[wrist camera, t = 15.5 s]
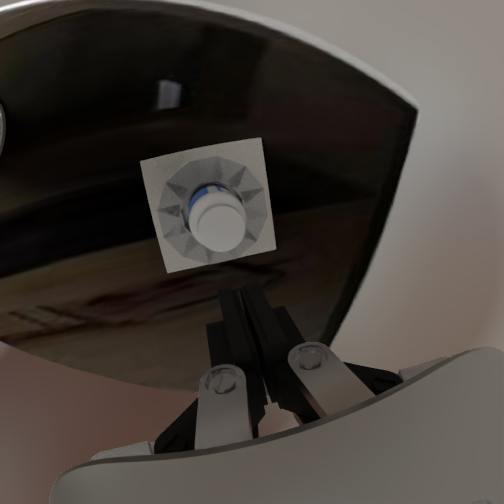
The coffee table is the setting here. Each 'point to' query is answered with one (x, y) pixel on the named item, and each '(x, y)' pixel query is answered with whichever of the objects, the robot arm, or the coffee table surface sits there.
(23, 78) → the coffee table surface
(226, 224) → the pill bottle
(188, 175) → the ring socket
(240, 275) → the coffee table surface
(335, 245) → the coffee table surface
